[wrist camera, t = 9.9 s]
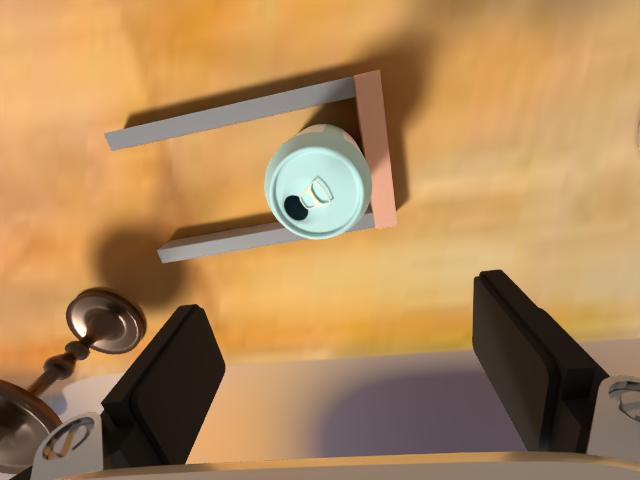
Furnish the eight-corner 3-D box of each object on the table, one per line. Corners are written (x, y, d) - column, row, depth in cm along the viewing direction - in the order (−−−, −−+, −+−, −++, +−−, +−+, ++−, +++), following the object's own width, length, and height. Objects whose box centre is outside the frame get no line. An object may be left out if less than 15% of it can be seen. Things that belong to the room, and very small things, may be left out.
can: (345, 207, 31) (350, 262, 20) (278, 185, 31) (246, 229, 20) (371, 138, 28) (394, 158, 17) (299, 112, 28) (275, 116, 17)
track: (375, 73, 26) (379, 69, 23) (391, 215, 31) (397, 225, 28) (122, 131, 29) (99, 133, 26) (174, 252, 34) (160, 265, 31)
